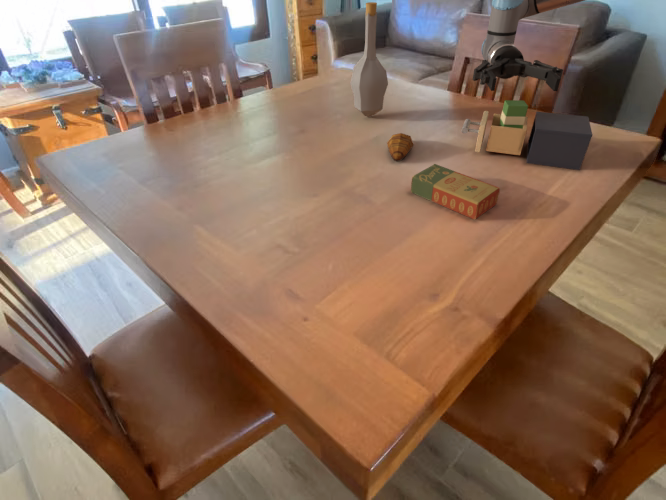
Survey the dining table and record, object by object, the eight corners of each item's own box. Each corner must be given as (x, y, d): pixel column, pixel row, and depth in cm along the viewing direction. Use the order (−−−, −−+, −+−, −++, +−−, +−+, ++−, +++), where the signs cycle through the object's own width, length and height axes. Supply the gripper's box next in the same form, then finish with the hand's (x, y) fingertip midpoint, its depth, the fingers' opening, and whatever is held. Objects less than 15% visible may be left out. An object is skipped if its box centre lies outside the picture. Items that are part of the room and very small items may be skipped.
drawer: (457, 149, 107) (461, 123, 103) (463, 134, 115) (467, 108, 110) (519, 157, 103) (526, 130, 98) (521, 141, 110) (528, 115, 106)
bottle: (341, 116, 129) (340, 3, 111) (368, 107, 135) (371, -2, 117) (367, 126, 122) (370, 8, 104) (394, 117, 128) (402, 2, 110)
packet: (514, 139, 108) (524, 100, 102) (518, 146, 105) (528, 106, 99) (495, 139, 109) (504, 100, 103) (498, 146, 105) (508, 105, 99)
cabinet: (526, 163, 102) (535, 128, 97) (527, 144, 111) (536, 111, 105) (579, 170, 99) (592, 134, 94) (576, 150, 107) (588, 116, 102)
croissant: (411, 164, 103) (412, 145, 100) (383, 162, 104) (384, 143, 101) (414, 142, 113) (416, 123, 110) (389, 140, 115) (390, 122, 112)
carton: (474, 221, 83) (478, 202, 81) (409, 192, 93) (410, 174, 90) (496, 204, 88) (501, 186, 85) (432, 179, 97) (434, 161, 94)
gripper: (550, 75, 113) (578, 102, 96) (454, 75, 115) (465, 101, 98) (559, 44, 108) (590, 67, 91) (458, 45, 111) (470, 67, 94)
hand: (525, 84), depth 95 cm, fingers open, 13 cm apart
